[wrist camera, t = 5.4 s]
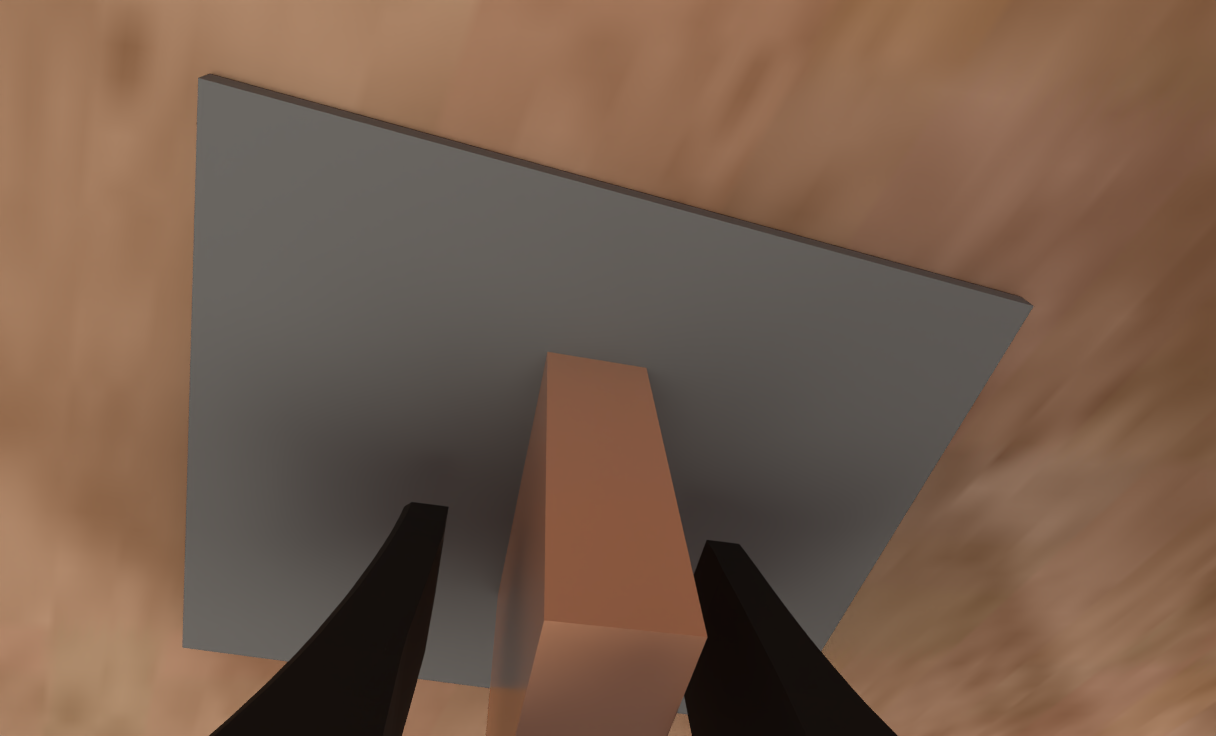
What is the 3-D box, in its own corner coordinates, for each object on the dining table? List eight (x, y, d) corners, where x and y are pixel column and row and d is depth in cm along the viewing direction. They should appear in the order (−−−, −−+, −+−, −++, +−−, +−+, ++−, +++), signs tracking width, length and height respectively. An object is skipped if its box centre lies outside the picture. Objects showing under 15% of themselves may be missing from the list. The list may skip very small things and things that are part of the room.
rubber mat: (1021, 297, 13) (1033, 306, 13) (770, 711, 19) (775, 726, 19) (209, 73, 11) (198, 78, 10) (190, 632, 16) (182, 647, 16)
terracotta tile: (580, 604, 16) (593, 918, 11) (497, 595, 16) (470, 913, 11) (646, 367, 13) (707, 636, 8) (547, 352, 13) (544, 620, 8)
